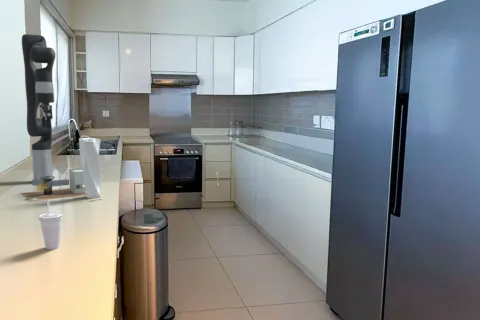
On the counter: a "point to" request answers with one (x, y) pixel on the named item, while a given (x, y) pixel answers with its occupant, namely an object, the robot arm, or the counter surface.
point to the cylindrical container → (82, 153)
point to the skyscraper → (92, 167)
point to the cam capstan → (48, 183)
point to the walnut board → (55, 194)
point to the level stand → (77, 181)
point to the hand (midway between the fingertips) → (46, 127)
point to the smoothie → (51, 228)
